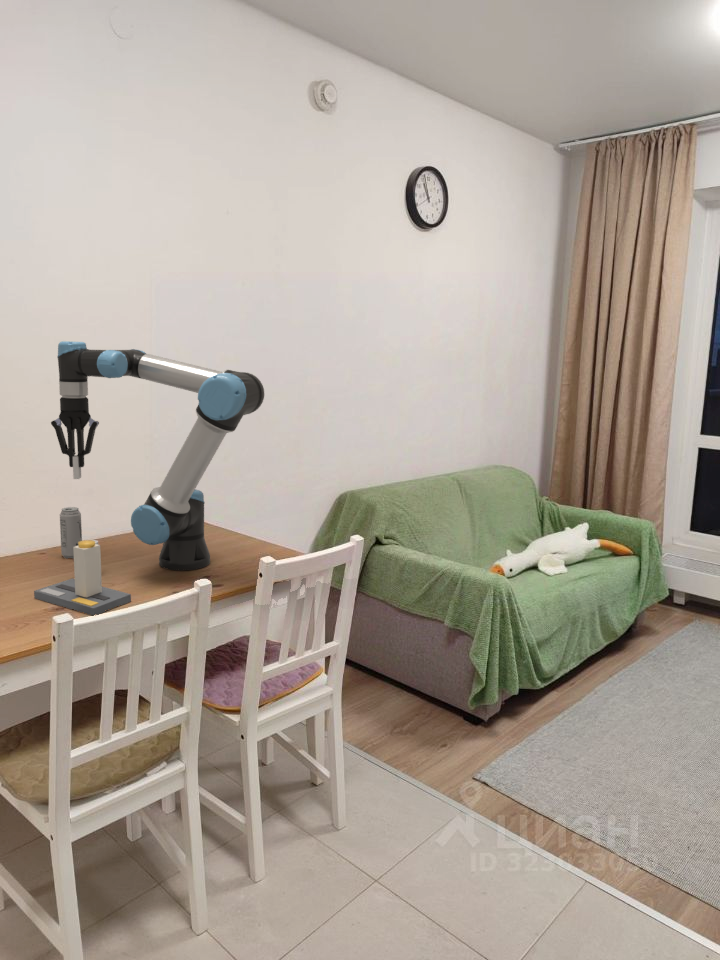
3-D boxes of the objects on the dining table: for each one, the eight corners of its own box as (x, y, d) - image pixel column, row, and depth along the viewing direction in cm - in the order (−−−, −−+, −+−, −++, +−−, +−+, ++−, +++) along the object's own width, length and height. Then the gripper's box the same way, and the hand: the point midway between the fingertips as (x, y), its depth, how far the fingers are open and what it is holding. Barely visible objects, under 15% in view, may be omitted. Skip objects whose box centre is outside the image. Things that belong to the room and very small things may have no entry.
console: (34, 598, 187) (33, 590, 187) (72, 585, 198) (72, 577, 197) (93, 616, 177) (93, 607, 176) (131, 601, 187) (130, 593, 187)
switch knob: (75, 594, 184) (73, 543, 182) (91, 588, 189) (89, 538, 186) (86, 597, 183) (84, 545, 180) (101, 591, 187) (100, 541, 184)
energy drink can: (82, 558, 221) (80, 510, 218) (61, 559, 219) (58, 511, 216) (82, 552, 227) (80, 506, 224) (62, 554, 225) (60, 507, 222)
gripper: (101, 396, 209) (103, 476, 214) (54, 395, 208) (58, 475, 212) (94, 398, 202) (97, 480, 207) (45, 397, 201) (50, 480, 205)
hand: (77, 478), depth 210 cm, fingers closed
